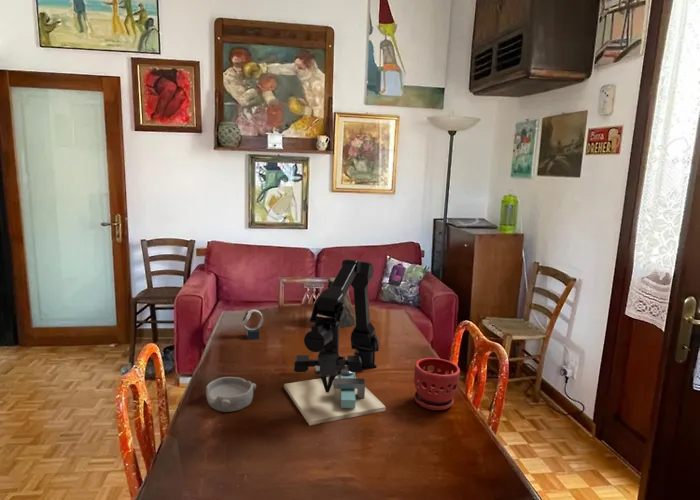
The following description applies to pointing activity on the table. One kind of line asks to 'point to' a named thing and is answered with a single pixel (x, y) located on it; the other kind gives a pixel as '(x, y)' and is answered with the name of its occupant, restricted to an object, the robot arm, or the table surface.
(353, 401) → the link
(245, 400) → the dish
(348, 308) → the grey tall stone
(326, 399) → the base board
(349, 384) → the pintle and keeper
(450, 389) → the plant pot
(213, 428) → the table surface
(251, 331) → the watch
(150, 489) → the table surface
